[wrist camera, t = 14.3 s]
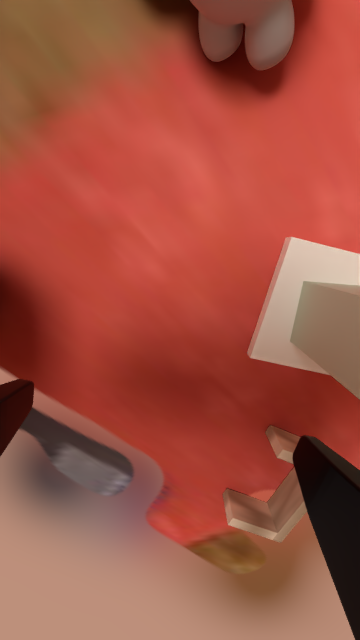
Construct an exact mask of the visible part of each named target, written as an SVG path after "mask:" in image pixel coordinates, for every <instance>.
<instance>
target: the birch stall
mask: <svg viewBox="0 0 360 640" xmlns="http://www.w3.org/2000/svg"><path fill="white" fill-rule="evenodd" d="M265 433H266V435H267V437H268V440H269V442H270V444H271V446H272V448H273V450H274V452H275V455H276V457H277V458H279V459H282V460H284V461H287V462H290V463H292V464H293V459H292V457H293V452H294V450H295V448H296V446H297V443H298V441H299V439H300V437H299V436H297V435H294V434H292V433H289V432H287V431H284V430H282V429H280V428H277V427H275V426H272V425H270V426H269V428H268V429H267V430H266V432H265ZM223 500H224V505H225V511H226V517H227V522H228V525H230V526H233V527H236V528H239V529H242V530H245V531H248V532H251V533H254V534H257V535H260V536H263V537H266V538H269V539H271V540H275V541H277V542H282V541H283V540H284V538H285V537H286V536H287V535H288V534H289V532H290V531H291V530H292V529H293V528H294V526H295V525H296V524H297V523H298V521H299V520H300V519H301V518H302V517H303V516H304V514H305V513H306V512H307V509H306V506H305V503H304V499H303V496H302V492H301V489H300V485H299V481H298V478H297V474H296V471H295V467H294V468H293V469H292V470H291V472H290V473H289V474H288V476H287V477H286V478H285V479H284V481H283V482H282V483H281V485H280V486H279V487H278V489H277V490H276V491H275V493H274V494H273V495H272V497H271V498H270V499H269V500H268V502H264V501H261V500H258V499H256V498H253V497H250V496H247V495H245V494H242V493H239V492H236V491H234V490H231V489H228V488H227V489H226V490H225V492H224V493H223Z"/></svg>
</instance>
